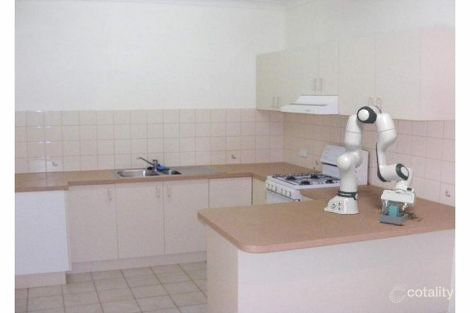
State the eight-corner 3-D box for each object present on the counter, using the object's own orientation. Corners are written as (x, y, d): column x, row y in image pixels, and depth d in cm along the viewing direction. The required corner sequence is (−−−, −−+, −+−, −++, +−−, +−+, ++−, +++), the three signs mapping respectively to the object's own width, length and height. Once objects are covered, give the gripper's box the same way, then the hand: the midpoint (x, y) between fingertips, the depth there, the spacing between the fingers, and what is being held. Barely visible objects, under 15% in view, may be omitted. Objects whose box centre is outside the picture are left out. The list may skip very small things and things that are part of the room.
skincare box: (381, 213, 341) (382, 191, 339) (385, 212, 346) (386, 190, 344) (394, 216, 336) (395, 193, 334) (398, 214, 340) (399, 191, 339)
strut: (388, 221, 318) (389, 206, 316) (391, 220, 321) (392, 205, 320) (396, 222, 315) (396, 207, 314) (398, 221, 318) (399, 206, 317)
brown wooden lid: (399, 220, 323) (399, 213, 323) (405, 217, 333) (406, 209, 332) (419, 223, 316) (419, 215, 316) (425, 220, 326) (425, 212, 325)
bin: (379, 223, 317) (380, 214, 316) (387, 219, 327) (387, 211, 326) (400, 226, 309) (401, 218, 309) (407, 222, 319) (408, 214, 319)
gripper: (383, 185, 328) (376, 203, 321) (416, 189, 316) (410, 208, 309) (385, 191, 332) (378, 209, 326) (418, 195, 320) (412, 214, 314)
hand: (394, 208), depth 317 cm, fingers open, 8 cm apart
